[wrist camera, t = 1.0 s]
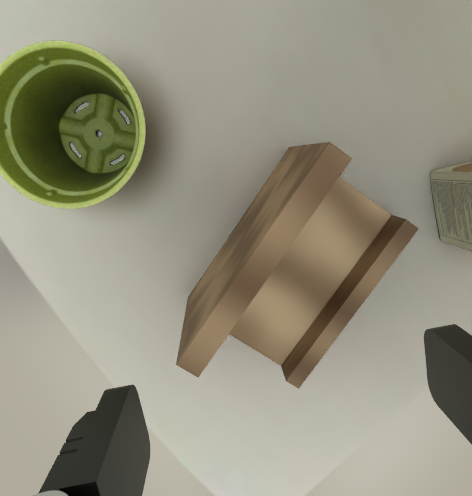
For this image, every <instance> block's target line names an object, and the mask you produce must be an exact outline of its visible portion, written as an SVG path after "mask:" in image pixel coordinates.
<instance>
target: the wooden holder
mask: <svg viewBox="0 0 472 496" xmlns="http://www.w3.org/2000/svg"><path fill="white" fill-rule="evenodd" d="M351 159H352V158H351V157H349V156H348V155H347V154H345V153H344V152H342V151H341V150H340V149H338V148H337V147H336V146H334V145H333V144H331V143H330V142H327V143H319V144H311V145H303V146H296V147H289V149H288V150H287V152H286V153H285V155H284V156H283V158H282V159H281V161H280V162H279V164H278V165H277V167H276V168H275V170H274V171H273V173H272V174H271V176H270V177H269V179H268V180H267V182H266V183H265V185H264V186H263V187H262V189H261V190H260V192H259V193H258V195H257V196H256V198H255V199H254V201H253V202H252V204H251V205H250V207H249V208H248V210H247V211H246V213H245V214H244V216H243V217H242V219H241V220H240V222H239V223H238V224H237V226H236V227H235V229H234V230H233V232H232V233H231V235H230V236H229V238H228V239H227V241H226V242H225V244H224V245H223V247H222V248H221V250H220V251H219V253H218V254H217V256H216V257H215V259H214V260H213V262H212V263H211V264H210V266H209V267H208V269H207V270H206V272H205V273H204V275H203V276H202V278H201V279H200V281H199V282H198V284H197V285H196V287H195V288H194V290H193V291H192V293H191V294H190V296H189V297H188V301H187V306H186V312H185V318H184V323H183V329H182V335H181V340H180V346H179V352H178V357H177V363H176V365H178V366H179V367H181V368H183V369H184V370H186V371H188V372H190V373H191V374H193V375H195V376H197V377H199V376H200V374H201V373H202V371H203V370H204V368H205V367H206V366H207V364H208V363H209V361H210V360H211V358H212V357H213V356H214V354H215V353H216V351H217V350H218V348H219V347H220V346H221V344H222V343H223V341H224V340H225V339H226V337H227V336H228V334H230V335H232V336H233V337H235V338H237V339H238V340H240V341H242V342H243V343H245V344H247V345H248V346H250V347H251V348H253V349H255V350H256V351H258V352H260V353H261V354H263V355H265V356H266V357H268V358H270V359H271V360H273V361H275V362H276V363H278V364H279V365H281V367H282V370H283V373H284V376H285V379H286V381H287V382H289V383H290V384H292V385H294V386H295V387H297V388H299V387H300V386H301V385H302V383H303V382H304V381H305V379H306V378H307V377H308V375H309V374H310V373H311V371H312V370H313V369H314V367H315V366H316V365H317V363H318V362H319V361H320V359H321V358H322V357H323V355H324V354H325V353H326V351H327V350H328V349H329V347H330V346H331V345H332V343H333V342H334V341H335V339H336V338H337V337H338V335H339V334H340V333H341V331H342V330H343V329H344V327H345V326H346V325H347V323H348V322H349V321H350V319H351V318H352V317H353V315H354V314H355V313H356V311H357V310H358V309H359V307H360V306H361V305H362V303H363V302H364V301H365V299H366V298H367V297H368V295H369V294H370V293H371V291H372V290H373V289H374V287H375V286H376V285H377V283H378V282H379V281H380V279H381V278H382V277H383V275H384V274H385V273H386V271H387V270H388V269H389V267H390V266H391V265H392V263H393V262H394V261H395V259H396V258H397V257H398V255H399V254H400V253H401V251H402V250H403V249H404V247H405V246H406V245H407V243H408V242H409V241H410V239H411V238H412V237H413V235H414V234H415V233H416V231H417V230H418V228H417V227H416V226H414V225H413V224H411V223H410V222H409V221H407V220H406V219H403V218H400V217H396V216H393V215H391V214H390V213H388V212H387V211H385V210H384V209H383V208H381V207H380V206H378V205H377V204H376V203H374V202H373V201H371V200H370V199H369V198H367V197H366V196H364V195H363V194H362V193H360V192H359V191H357V190H356V189H355V188H353V187H352V186H350V185H349V184H348V183H346V182H345V181H343V180H342V179H341V178H339V176H340V175H341V174H342V172H343V171H344V169H345V168H346V166H347V165H348V164H349V162H350V161H351Z"/></svg>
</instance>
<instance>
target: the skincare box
mask: <svg viewBox="0 0 472 496" xmlns="http://www.w3.org/2000/svg"><path fill="white" fill-rule="evenodd" d="M430 178H431V186H432V193H433V200H434V206H435V212H436V218H437V223H438V228H439V234H440V239H441V241H442V242H445V243H448V244H452V245H455V246H458V247H461V248H464V249H467V250H470V251H472V161H470V162H465V163H461V164H457V165H452V166H448V167H444V168H441V169H437V170H433V171H431V173H430Z"/></svg>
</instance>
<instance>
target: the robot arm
mask: <svg viewBox="0 0 472 496" xmlns="http://www.w3.org/2000/svg"><path fill="white" fill-rule="evenodd" d="M424 344H425V355H426V366H427V378H428V385H429V389H430V392H431V394H432V397H433V399H434V401H435V402H436V404H437V405H438V406H439V408H440V409H441V410H442V411H443V412H444V413H445V414H446V415H447V417H448V418H449V419H450V420H451V421H452V422H453V424H454V425H455V426H456V427H457V428H458V429H459V430H460V432H461V433H462V434H463V435H464V436H465V437H466V438H467V440H468V441H469V442H470V443H471V444H472V336H471V335H470V334H469V333H467V332H466V331H464V330H463V329H462V328H460V327H459V326H457V325H455V324H453V325H447V326H442V327H437V328H432V329H427V330H426V331H425V333H424ZM149 460H150V441H149V435H148V431H147V427H146V423H145V419H144V415H143V411H142V408H141V404H140V400H139V396H138V392H137V390H136V387H135V386H134V385H128V386H123V387H117V388H112V389H107V390H105V391H104V393H103V395H102V397H101V400H100V402H99V404H98V407H97V408H96V410H95V411H91V412H87V413H86V414H85V415H84V416H83V417H82V418H81V419H80V420H79V421H78V422H77V423H76V424H75V425H74V426H73V427H72V430H71V431H70V433H69V435H68V437H67V439H66V443H64V445H63V447H62V449H61V451H60V455H58V456H57V458H56V460H55V462H54V464H53V466H52V468H51V470H50V472H49V474H48V476H47V478H46V480H45V482H44V484H43V486H42V488H41V489H40V491H39V493H38V494H36V495H34V496H142V493H143V488H144V483H145V478H146V474H147V469H148V464H149Z"/></svg>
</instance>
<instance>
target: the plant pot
mask: <svg viewBox="0 0 472 496" xmlns="http://www.w3.org/2000/svg"><path fill="white" fill-rule="evenodd" d="M84 102H89V106H87V107H85V108H83V109H81V110H80V111H79V112H77V113H74V112H75V109H76V108H77V107H78V106H79V105H80V104H82V103H84ZM119 109H120V110H123V111H124V112H125V114H126V115H127V117H128V118H129V120H130V124H129V125H127V123H126V122H125V120H124V118H123V117H122V115H121V114H120V113H119V112H118V110H119ZM97 130H100V131H101V132H102V136H101V137H97V135H96V131H97ZM145 140H146V122H145V115H144V111H143V107H142V104H141V101H140V99H139V96H138V94H137V92H136V90H135V89H134V87H133V85H132V84H131V82H130V81H129V79H128V78H127V77H126V75H125V74H124V73H123V72H122V71H121V70H120V69H119V68H118V67H117V66H116V65H115V64H114V63H113V62H112V61H110V60H109V59H108V58H106V57H105V56H103V55H102V54H100V53H99V52H97V51H95V50H93V49H91V48H89V47H86V46H83V45H80V44H76V43H72V42H66V41H44V42H39V43H35V44H32V45H29V46H26V47H24V48H22V49H20V50H18V51H16V52H14V53H13V54H12V55H10V56H9V57H8V58H7V59H6V60H5V61H3V62H2V63H1V64H0V174H1V175H2V177H3V178H4V179H5V180H6V181H7V182H8V183H9V184H10V185H11V186H12V187H13V188H15V189H16V190H17V191H18V192H20V193H21V194H23V195H24V196H26V197H27V198H29V199H31V200H33V201H36V202H38V203H41V204H44V205H47V206H50V207H55V208H62V209H77V208H84V207H89V206H92V205H95V204H98V203H100V202H102V201H104V200H106V199H108V198H110V197H111V196H113V195H114V194H115V193H117V192H118V191H119V190H120V189H121V188H122V187H123V186H124V185H125V184H126V183H127V182H128V180H129V179H130V178H131V177H132V175H133V174H134V172H135V170H136V169H137V167H138V165H139V163H140V160H141V158H142V155H143V151H144V147H145ZM70 142H71V143H73V144H74V146H75V148H76V149H77V151H78V152H79V154H81V155H82V158H78V157H77V156H76V154H75V153H74V152H73V151H72V150H71V148H70V146H69V144H70ZM122 154H124V155H125V157H124V159H123V160H122V161H120V162H119V163H117V164H115V165H110V162H111V161H113V160H115V159H117V158H118V157H120V155H122Z"/></svg>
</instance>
